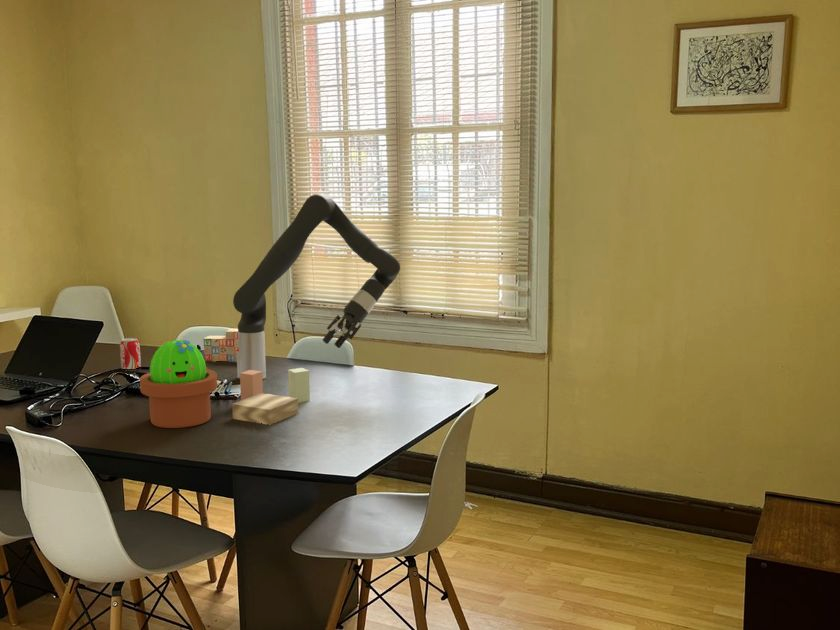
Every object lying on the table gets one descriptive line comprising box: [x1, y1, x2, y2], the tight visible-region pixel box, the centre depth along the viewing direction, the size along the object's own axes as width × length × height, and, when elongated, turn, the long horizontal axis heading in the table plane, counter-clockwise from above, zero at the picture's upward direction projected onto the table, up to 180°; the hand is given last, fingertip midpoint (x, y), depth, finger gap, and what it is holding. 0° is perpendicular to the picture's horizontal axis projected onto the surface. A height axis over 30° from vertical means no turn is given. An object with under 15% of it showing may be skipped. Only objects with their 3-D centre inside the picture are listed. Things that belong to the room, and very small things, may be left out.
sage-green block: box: [287, 367, 311, 404], centre depth 272 cm, size 5×5×10 cm
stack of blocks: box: [203, 328, 239, 363], centre depth 330 cm, size 21×6×12 cm, turn 85°
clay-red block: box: [239, 370, 264, 401], centre depth 270 cm, size 5×5×10 cm
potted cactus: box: [139, 338, 218, 429], centre depth 249 cm, size 22×22×25 cm
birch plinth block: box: [231, 392, 299, 426], centre depth 255 cm, size 14×14×5 cm
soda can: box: [119, 337, 142, 370], centre depth 313 cm, size 7×7×12 cm
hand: (330, 344), depth 277 cm, fingers open, 8 cm apart
